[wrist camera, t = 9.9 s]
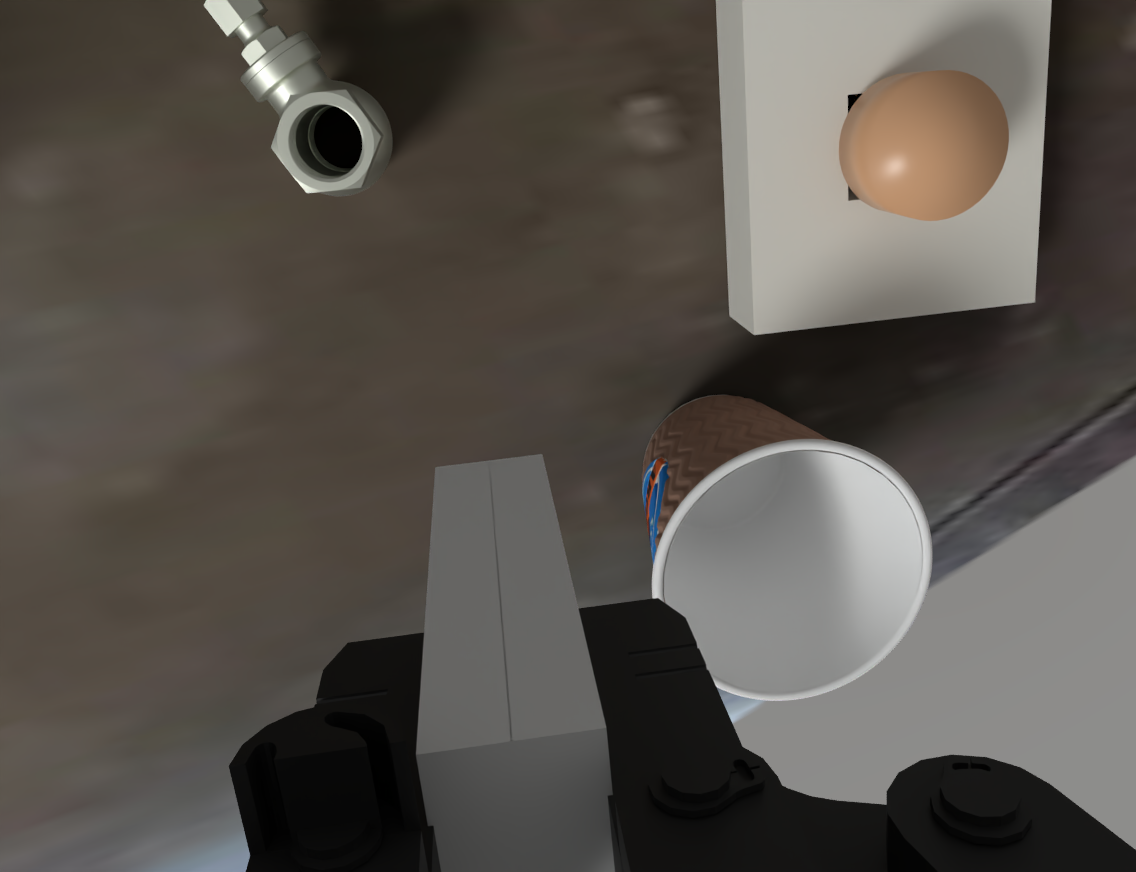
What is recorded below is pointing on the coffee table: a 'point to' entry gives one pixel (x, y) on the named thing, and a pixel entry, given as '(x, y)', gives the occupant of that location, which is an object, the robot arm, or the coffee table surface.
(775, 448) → the coffee cup
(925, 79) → the knob terracotta
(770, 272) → the mount board
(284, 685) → the coffee table surface
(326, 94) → the valve
